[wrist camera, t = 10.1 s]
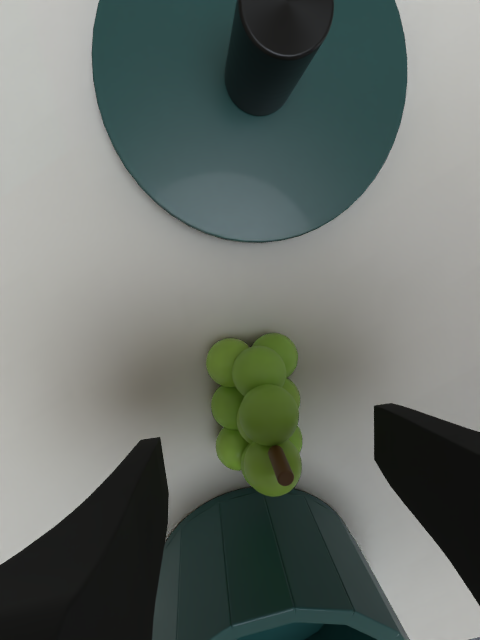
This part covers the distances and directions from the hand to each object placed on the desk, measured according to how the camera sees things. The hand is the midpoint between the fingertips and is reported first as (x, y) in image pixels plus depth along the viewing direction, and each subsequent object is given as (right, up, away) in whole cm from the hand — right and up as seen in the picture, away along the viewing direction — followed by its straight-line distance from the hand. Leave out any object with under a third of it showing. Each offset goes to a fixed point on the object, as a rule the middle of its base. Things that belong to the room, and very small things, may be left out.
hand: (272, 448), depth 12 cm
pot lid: (0, +13, +1) cm, 13 cm away
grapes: (0, +1, +4) cm, 5 cm away
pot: (0, -9, +6) cm, 11 cm away
